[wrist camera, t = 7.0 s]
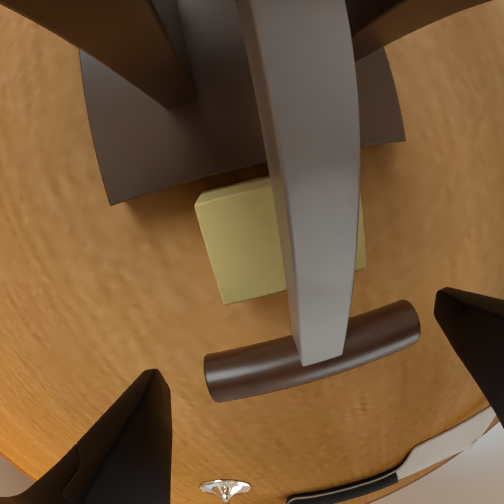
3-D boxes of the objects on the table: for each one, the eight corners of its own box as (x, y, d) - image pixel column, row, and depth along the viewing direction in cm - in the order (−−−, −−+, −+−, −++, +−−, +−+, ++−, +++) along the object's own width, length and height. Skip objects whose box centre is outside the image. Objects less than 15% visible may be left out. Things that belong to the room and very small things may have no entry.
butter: (337, 242, 10) (367, 268, 8) (223, 271, 10) (223, 307, 8) (325, 163, 9) (357, 168, 7) (201, 191, 9) (192, 204, 7)
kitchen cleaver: (510, 398, 20) (478, 446, 22) (504, 392, 21) (473, 440, 24) (301, 482, 16) (284, 519, 18) (297, 468, 18) (282, 507, 20)
